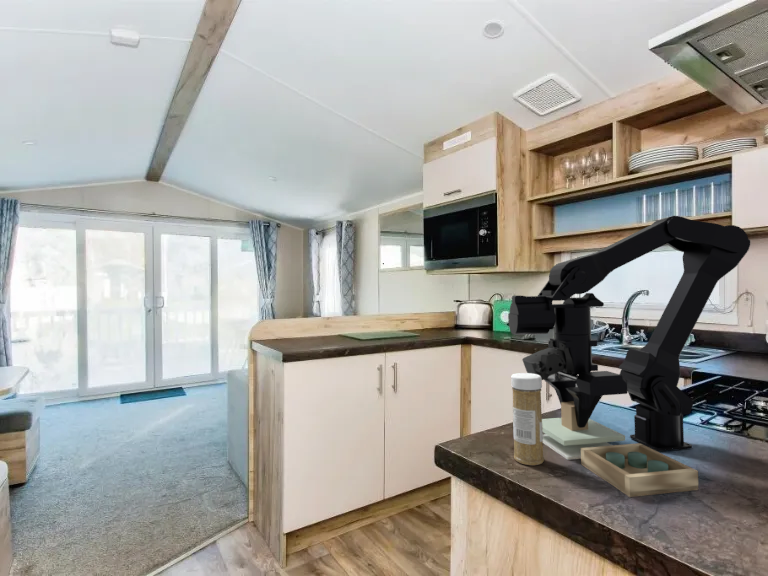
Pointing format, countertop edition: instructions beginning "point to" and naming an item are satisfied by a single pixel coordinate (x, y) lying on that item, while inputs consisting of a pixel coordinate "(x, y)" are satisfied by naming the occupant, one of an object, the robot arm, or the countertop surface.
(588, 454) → the box
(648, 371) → the robot arm
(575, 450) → the mat
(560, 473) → the countertop surface
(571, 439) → the lid
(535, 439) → the sprinkles bottle
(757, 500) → the countertop surface
